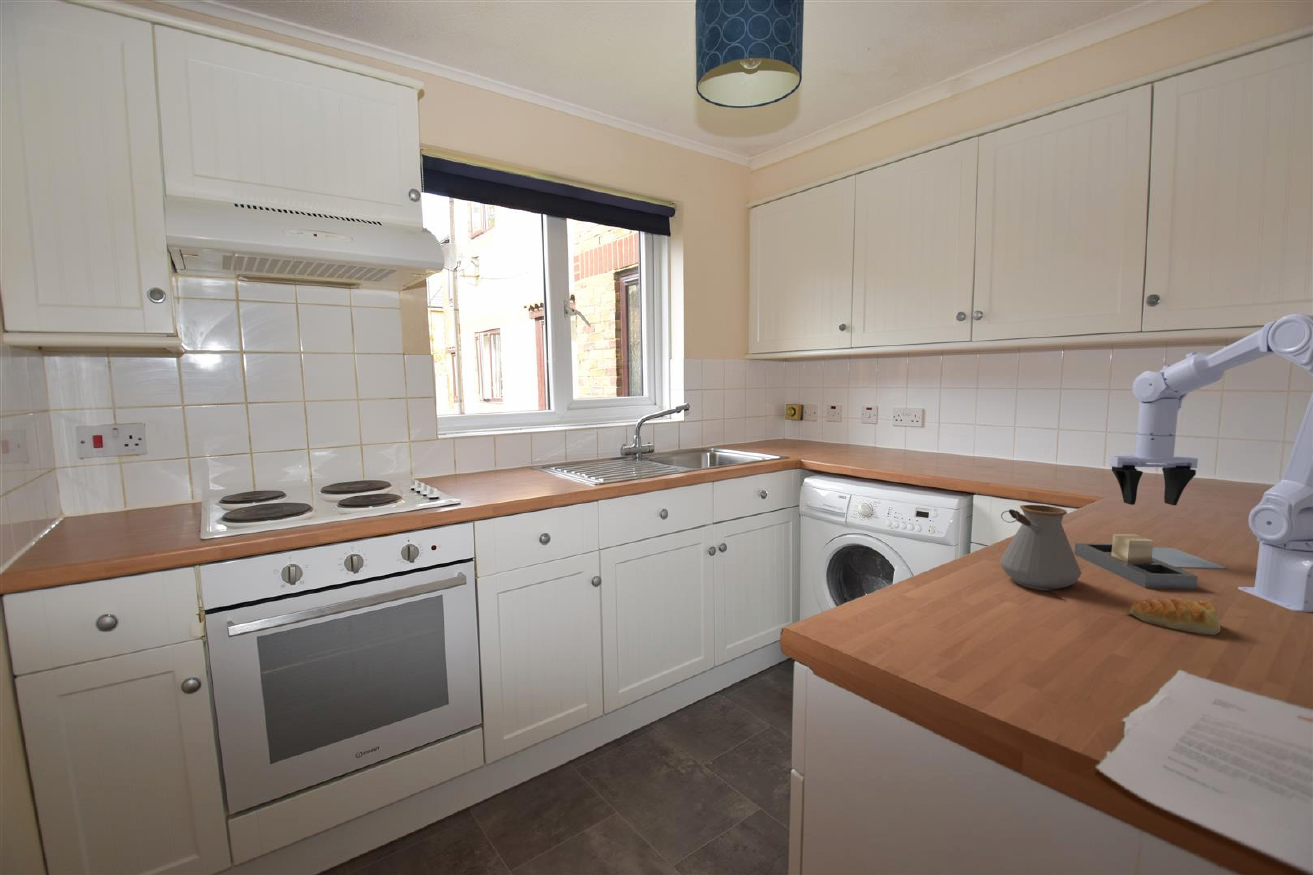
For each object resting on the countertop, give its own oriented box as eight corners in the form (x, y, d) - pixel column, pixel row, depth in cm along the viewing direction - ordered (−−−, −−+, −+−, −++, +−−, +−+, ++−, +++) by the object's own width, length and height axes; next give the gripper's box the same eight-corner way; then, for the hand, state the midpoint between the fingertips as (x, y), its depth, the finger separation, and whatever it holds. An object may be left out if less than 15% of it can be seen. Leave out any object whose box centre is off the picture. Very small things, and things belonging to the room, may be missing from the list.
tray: (1196, 591, 96) (1197, 575, 95) (1144, 590, 96) (1145, 574, 96) (1117, 557, 113) (1118, 544, 113) (1074, 556, 114) (1075, 543, 114)
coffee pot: (1013, 567, 108) (1019, 486, 106) (1088, 584, 99) (1096, 497, 97) (963, 595, 94) (968, 503, 92) (1045, 618, 85) (1053, 517, 84)
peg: (1150, 574, 103) (1153, 540, 102) (1126, 573, 103) (1129, 540, 102) (1133, 566, 107) (1136, 534, 106) (1110, 566, 107) (1113, 534, 106)
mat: (1226, 570, 106) (1226, 567, 106) (1156, 569, 106) (1156, 566, 106) (1172, 550, 118) (1172, 547, 117) (1109, 549, 118) (1110, 546, 118)
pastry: (1138, 627, 83) (1140, 600, 82) (1122, 609, 89) (1124, 585, 88) (1224, 639, 79) (1227, 611, 79) (1202, 620, 85) (1205, 594, 85)
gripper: (1179, 432, 116) (1172, 500, 118) (1102, 432, 117) (1096, 499, 119) (1209, 436, 109) (1202, 508, 111) (1127, 435, 110) (1121, 506, 112)
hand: (1149, 503), depth 114 cm, fingers open, 7 cm apart
